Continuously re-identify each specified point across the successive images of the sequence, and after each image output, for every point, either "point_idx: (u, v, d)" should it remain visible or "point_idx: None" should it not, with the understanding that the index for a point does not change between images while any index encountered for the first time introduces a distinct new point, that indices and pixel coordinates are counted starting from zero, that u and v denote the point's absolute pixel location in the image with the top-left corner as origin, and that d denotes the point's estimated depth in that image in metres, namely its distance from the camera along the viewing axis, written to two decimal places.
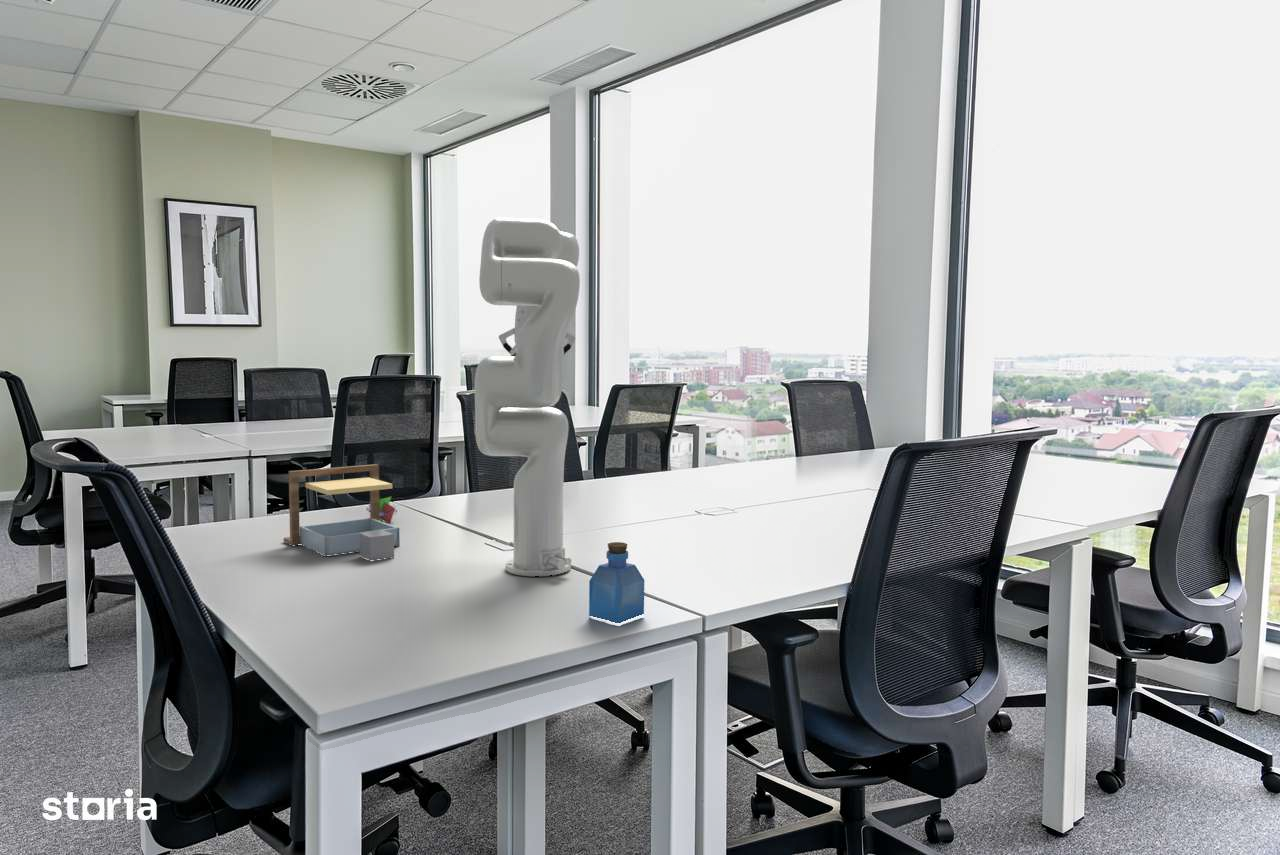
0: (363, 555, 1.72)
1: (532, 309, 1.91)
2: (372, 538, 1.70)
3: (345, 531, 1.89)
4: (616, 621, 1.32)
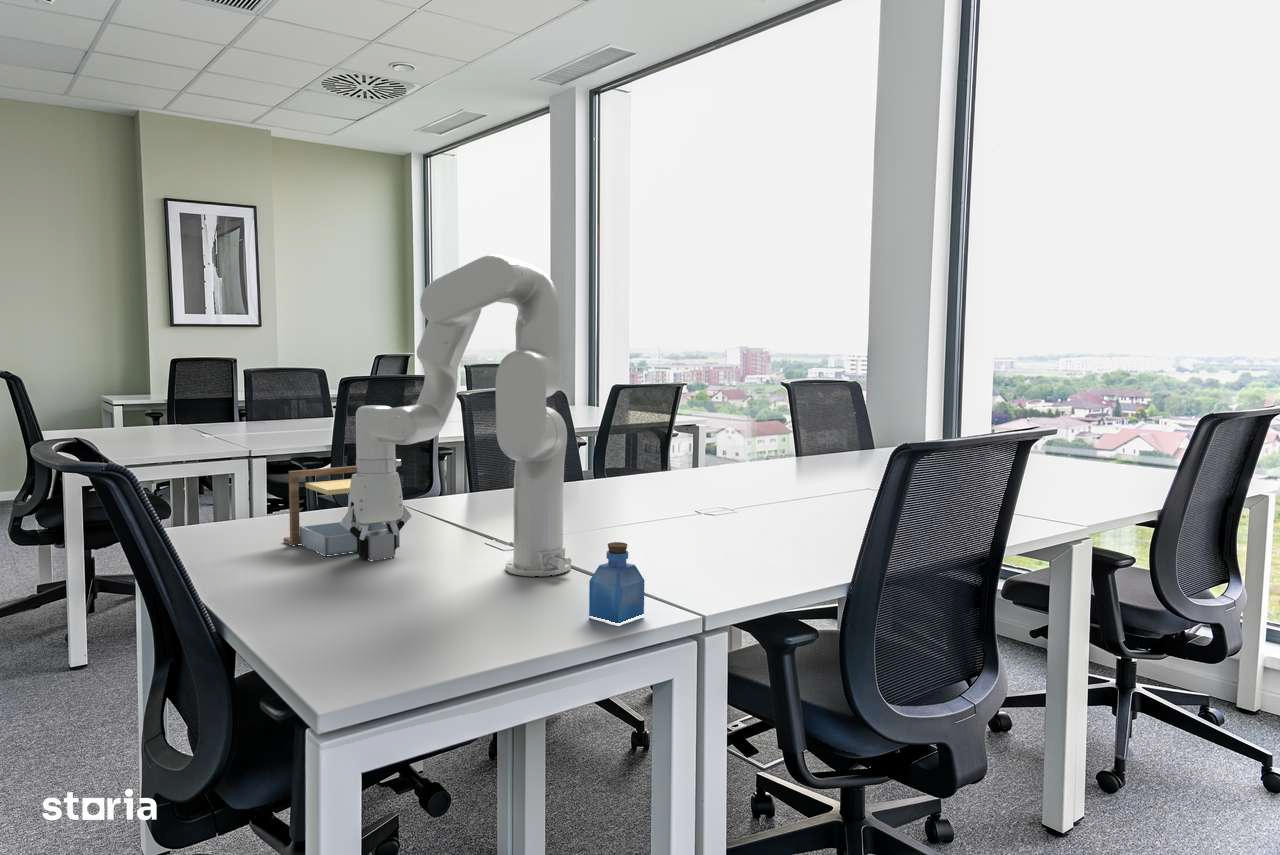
0: None
1: None
2: (372, 537, 1.70)
3: (345, 531, 1.89)
4: (616, 621, 1.32)
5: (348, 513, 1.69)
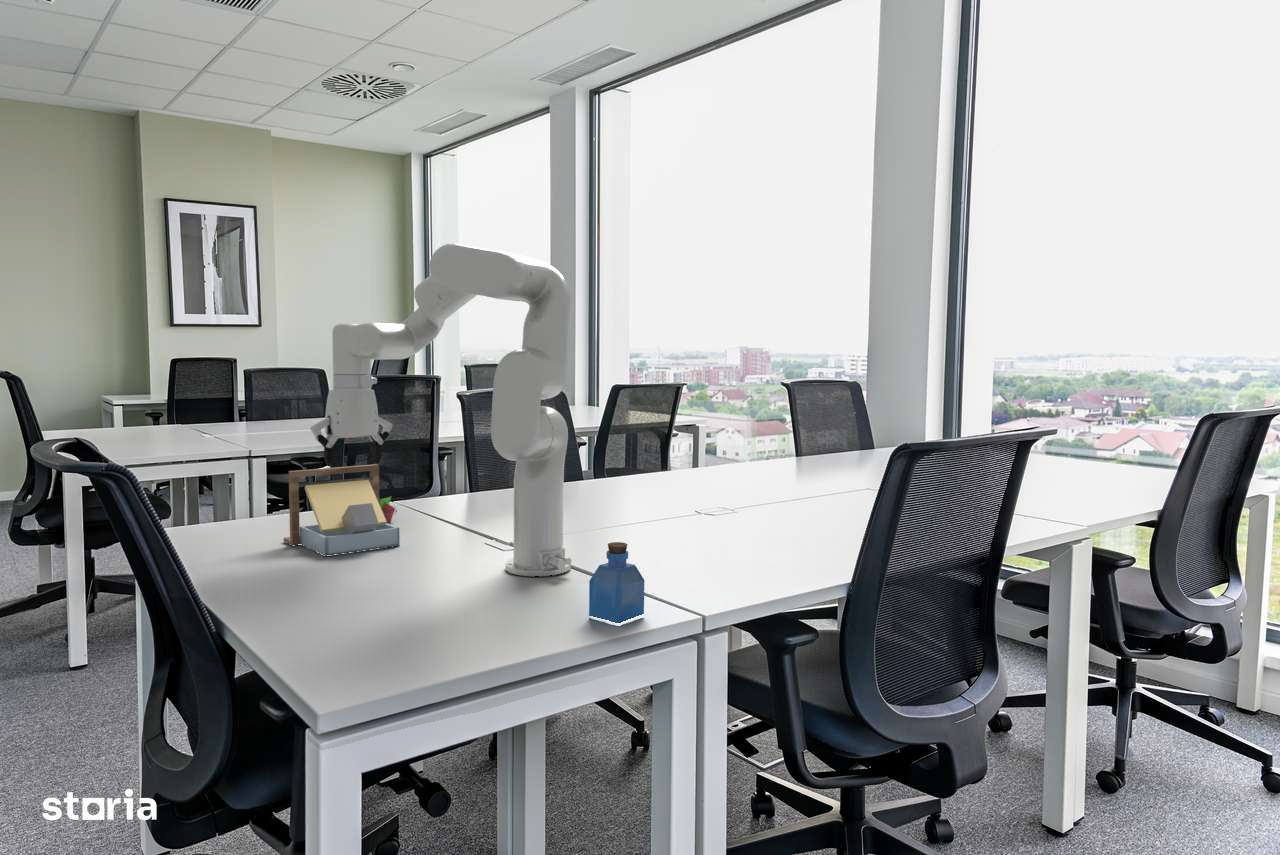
0: (344, 522, 1.79)
1: None
2: (357, 526, 1.75)
3: (345, 531, 1.89)
4: (616, 621, 1.32)
5: (322, 421, 1.75)
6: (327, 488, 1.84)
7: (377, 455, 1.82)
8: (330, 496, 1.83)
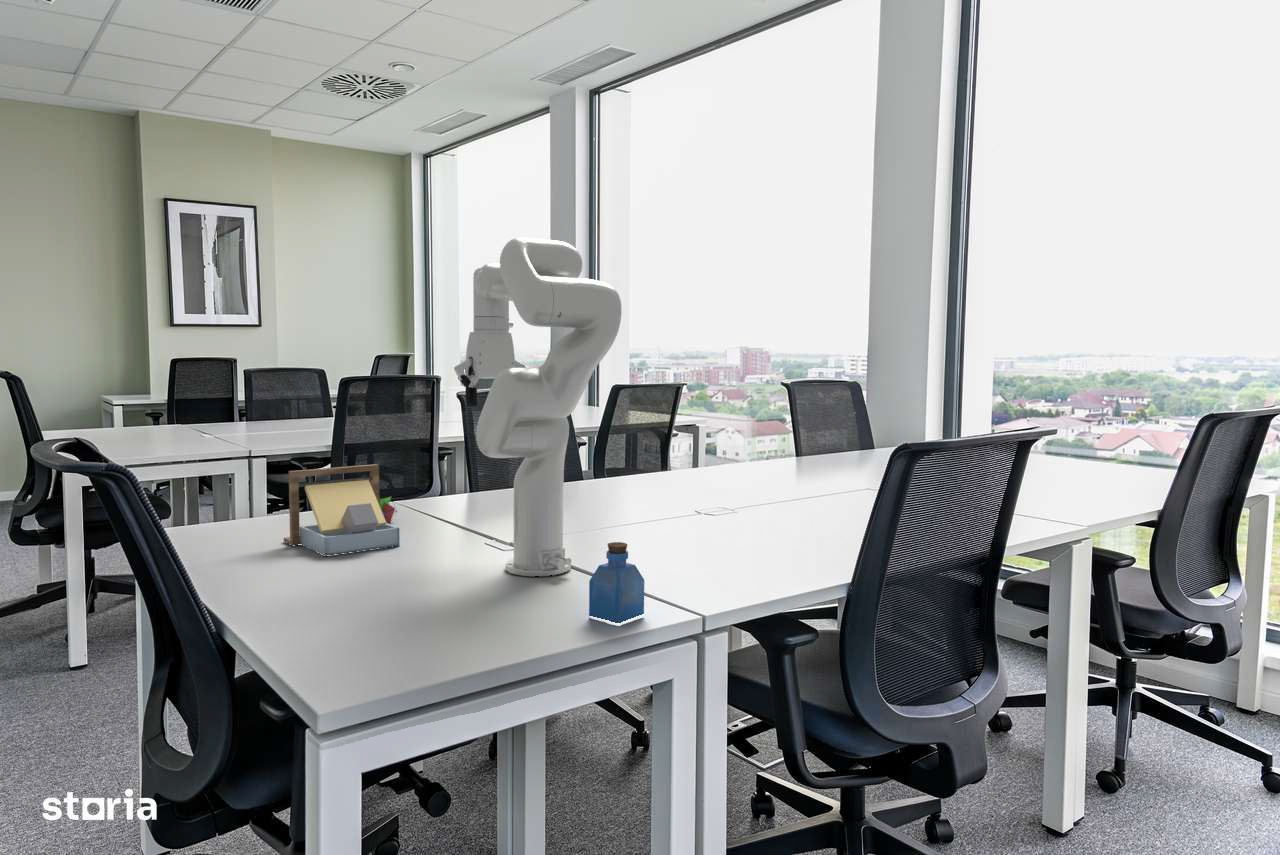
0: (344, 524, 1.79)
1: None
2: (356, 525, 1.75)
3: None
4: (616, 621, 1.32)
5: (465, 361, 1.80)
6: (327, 488, 1.84)
7: None
8: (330, 496, 1.83)
